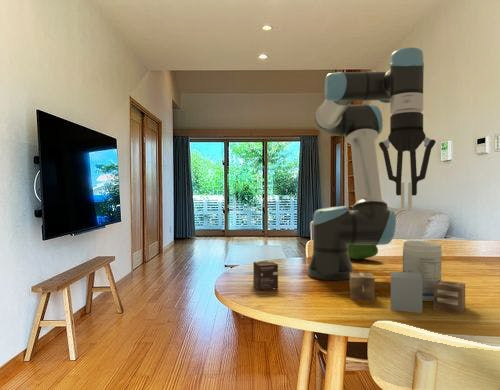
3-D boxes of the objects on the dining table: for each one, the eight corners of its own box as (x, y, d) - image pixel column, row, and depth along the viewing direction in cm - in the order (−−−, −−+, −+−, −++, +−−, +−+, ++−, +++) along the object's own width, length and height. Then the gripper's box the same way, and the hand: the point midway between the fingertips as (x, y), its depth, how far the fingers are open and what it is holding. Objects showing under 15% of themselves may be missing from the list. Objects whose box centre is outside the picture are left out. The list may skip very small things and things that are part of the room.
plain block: (390, 309, 89) (390, 277, 89) (390, 301, 96) (391, 271, 96) (422, 313, 87) (422, 279, 87) (420, 304, 93) (420, 273, 93)
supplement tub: (396, 292, 104) (396, 240, 104) (427, 291, 105) (427, 240, 105) (414, 302, 95) (414, 246, 94) (449, 301, 96) (449, 245, 95)
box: (258, 290, 106) (258, 265, 106) (253, 285, 112) (252, 261, 112) (278, 289, 108) (278, 264, 108) (271, 284, 114) (271, 260, 114)
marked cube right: (433, 309, 90) (433, 284, 90) (438, 303, 95) (438, 279, 95) (461, 314, 86) (461, 288, 86) (465, 307, 91) (465, 282, 91)
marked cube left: (351, 302, 95) (351, 278, 95) (349, 293, 104) (349, 271, 103) (375, 303, 94) (375, 279, 94) (371, 294, 102) (371, 272, 102)
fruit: (382, 260, 152) (382, 236, 152) (371, 263, 145) (371, 238, 144) (348, 255, 162) (348, 233, 162) (337, 258, 155) (337, 235, 155)
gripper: (375, 113, 90) (375, 209, 90) (439, 108, 85) (439, 210, 85) (377, 118, 97) (377, 207, 97) (436, 114, 92) (436, 208, 92)
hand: (406, 208), depth 91 cm, fingers closed
